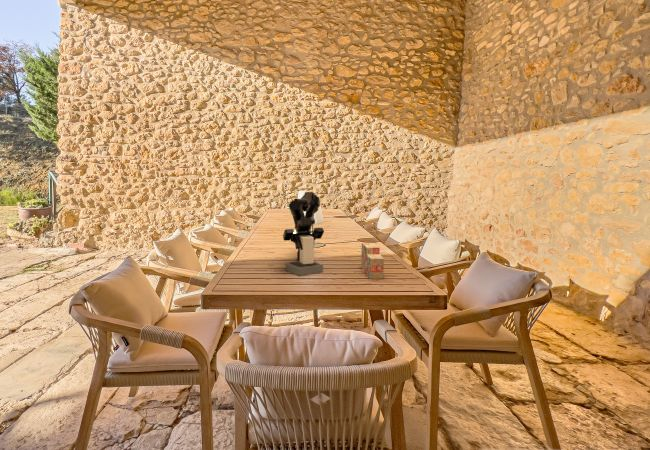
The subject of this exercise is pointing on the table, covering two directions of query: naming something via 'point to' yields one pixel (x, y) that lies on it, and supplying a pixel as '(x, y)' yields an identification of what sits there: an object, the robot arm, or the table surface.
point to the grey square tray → (303, 268)
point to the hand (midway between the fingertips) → (307, 249)
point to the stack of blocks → (372, 261)
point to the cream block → (307, 250)
